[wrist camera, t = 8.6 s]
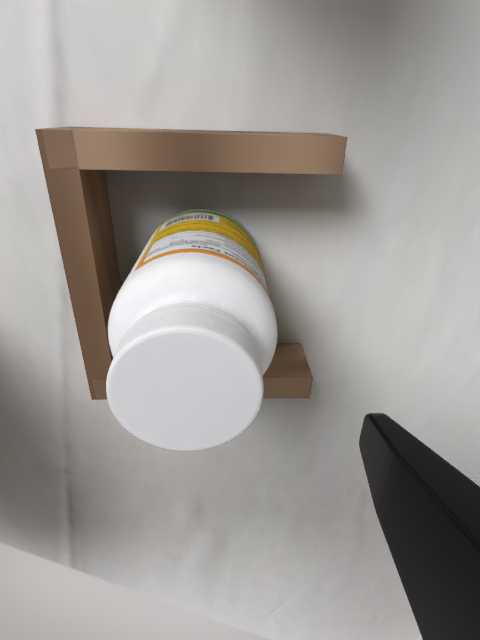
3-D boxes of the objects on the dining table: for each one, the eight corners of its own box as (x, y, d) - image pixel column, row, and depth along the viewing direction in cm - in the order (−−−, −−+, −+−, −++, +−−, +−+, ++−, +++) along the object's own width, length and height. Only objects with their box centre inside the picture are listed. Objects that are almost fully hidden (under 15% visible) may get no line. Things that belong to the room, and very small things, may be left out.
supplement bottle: (211, 332, 20) (203, 496, 11) (123, 270, 18) (34, 409, 9) (282, 257, 18) (337, 385, 9) (192, 180, 16) (159, 251, 8)
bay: (326, 133, 16) (347, 137, 13) (298, 362, 21) (309, 397, 18) (67, 126, 15) (35, 129, 12) (108, 362, 20) (91, 399, 18)
